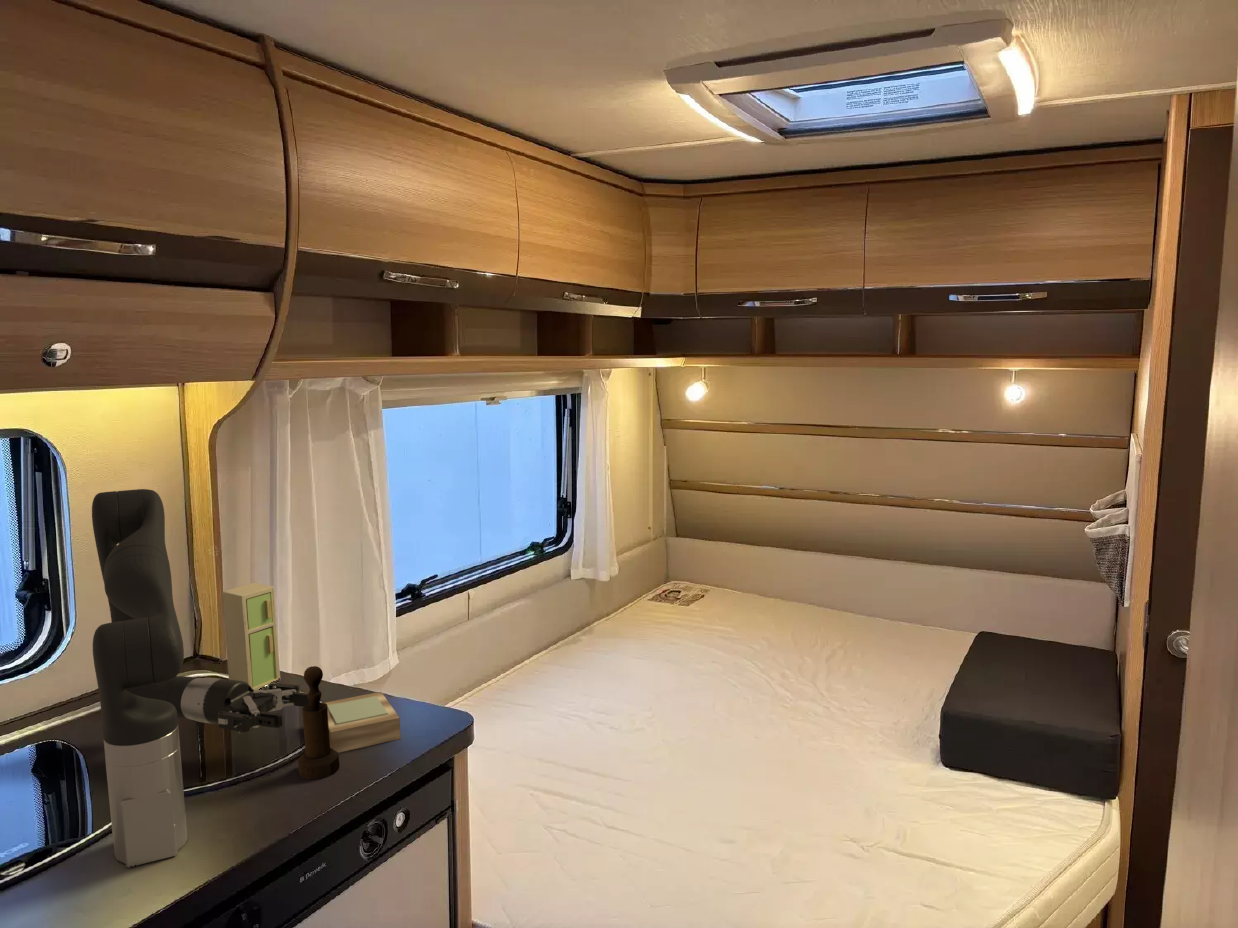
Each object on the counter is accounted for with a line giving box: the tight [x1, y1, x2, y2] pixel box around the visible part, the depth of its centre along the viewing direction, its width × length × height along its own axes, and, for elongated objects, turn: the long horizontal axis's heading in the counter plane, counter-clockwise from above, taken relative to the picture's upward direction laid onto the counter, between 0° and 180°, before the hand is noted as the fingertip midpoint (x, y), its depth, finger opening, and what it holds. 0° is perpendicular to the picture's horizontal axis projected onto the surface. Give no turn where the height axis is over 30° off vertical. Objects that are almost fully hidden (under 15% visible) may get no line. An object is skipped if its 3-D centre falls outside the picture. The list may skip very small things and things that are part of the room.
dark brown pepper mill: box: [297, 665, 340, 780], centre depth 146 cm, size 7×6×18 cm
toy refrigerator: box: [221, 582, 281, 691], centre depth 184 cm, size 8×7×21 cm
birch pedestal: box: [324, 691, 402, 754], centre depth 162 cm, size 14×12×4 cm
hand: (297, 710), depth 147 cm, fingers open, 8 cm apart
